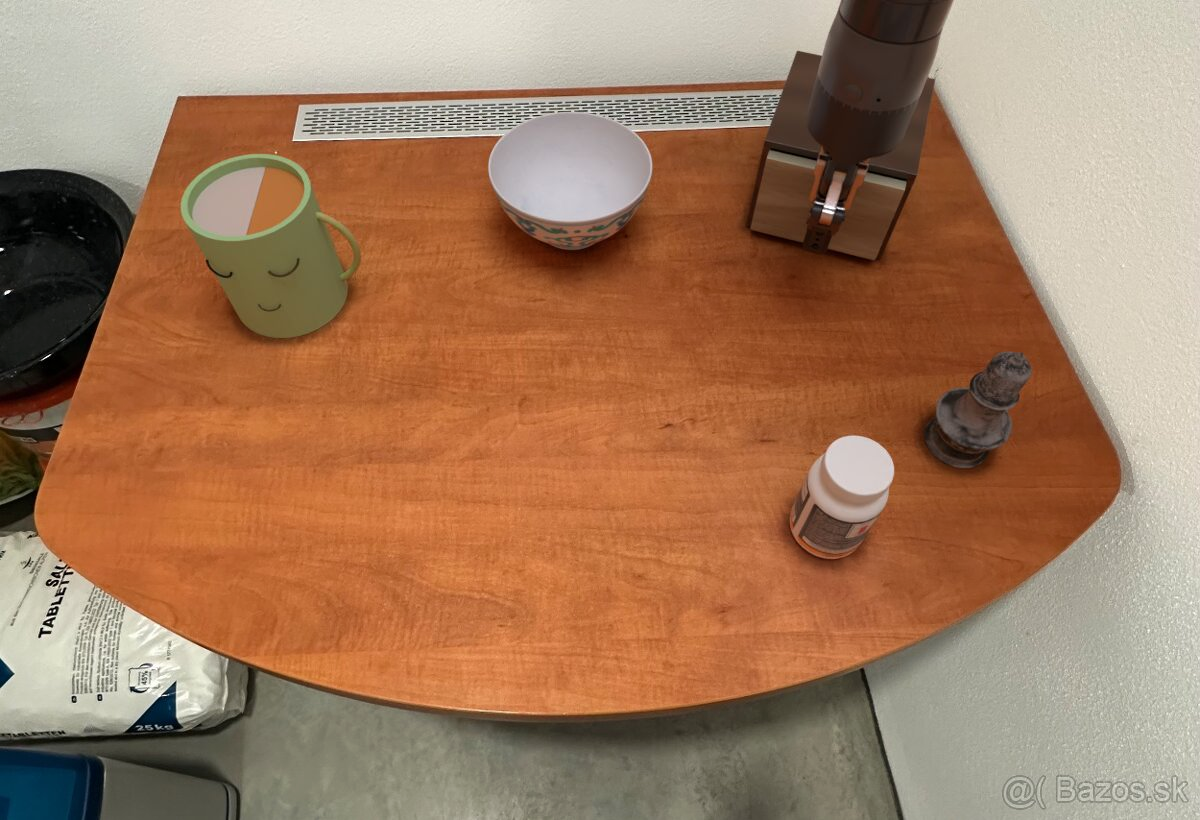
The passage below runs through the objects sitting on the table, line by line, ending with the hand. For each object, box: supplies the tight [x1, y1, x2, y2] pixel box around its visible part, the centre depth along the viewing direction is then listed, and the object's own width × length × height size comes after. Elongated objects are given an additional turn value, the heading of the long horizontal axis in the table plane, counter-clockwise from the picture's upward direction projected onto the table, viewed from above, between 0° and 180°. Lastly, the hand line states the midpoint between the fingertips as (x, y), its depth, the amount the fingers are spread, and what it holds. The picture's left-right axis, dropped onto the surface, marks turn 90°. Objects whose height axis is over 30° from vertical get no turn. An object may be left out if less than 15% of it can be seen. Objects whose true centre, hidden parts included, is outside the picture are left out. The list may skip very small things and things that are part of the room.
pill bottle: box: [789, 435, 895, 560], centre depth 58 cm, size 6×6×10 cm
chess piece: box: [923, 351, 1033, 469], centre depth 61 cm, size 6×6×12 cm
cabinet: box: [745, 50, 936, 260], centre depth 78 cm, size 14×13×10 cm
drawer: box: [749, 150, 906, 261], centre depth 77 cm, size 15×12×9 cm
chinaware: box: [487, 111, 653, 251], centre depth 76 cm, size 15×15×8 cm
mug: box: [180, 153, 362, 339], centre depth 69 cm, size 13×10×12 cm
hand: (814, 246), depth 72 cm, fingers closed
